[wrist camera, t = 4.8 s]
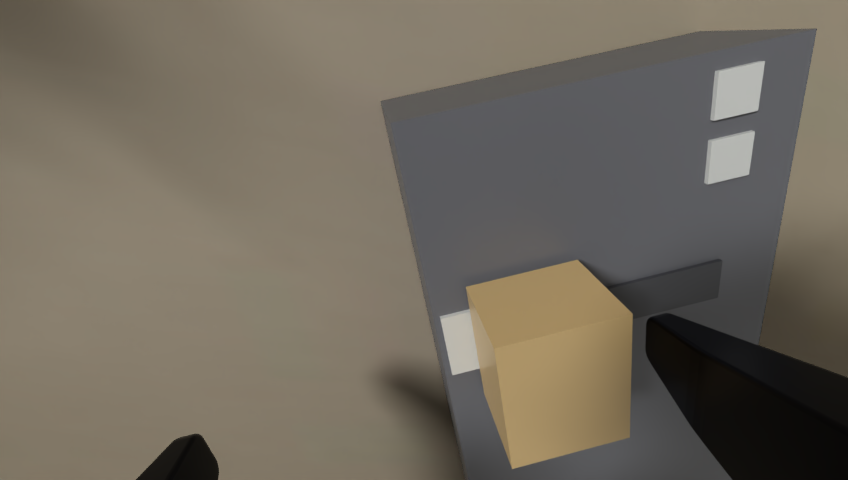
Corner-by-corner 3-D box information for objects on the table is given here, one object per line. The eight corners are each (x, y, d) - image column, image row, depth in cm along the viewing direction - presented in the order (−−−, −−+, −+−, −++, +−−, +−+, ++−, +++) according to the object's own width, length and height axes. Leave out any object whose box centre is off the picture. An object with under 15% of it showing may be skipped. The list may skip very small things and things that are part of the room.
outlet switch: (581, 369, 10) (629, 437, 9) (484, 394, 10) (511, 469, 8) (577, 259, 9) (632, 313, 7) (466, 286, 9) (494, 348, 7)
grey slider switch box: (659, 550, 20) (707, 631, 17) (491, 597, 20) (514, 688, 17) (699, 31, 11) (821, 28, 8) (380, 101, 10) (390, 124, 8)
